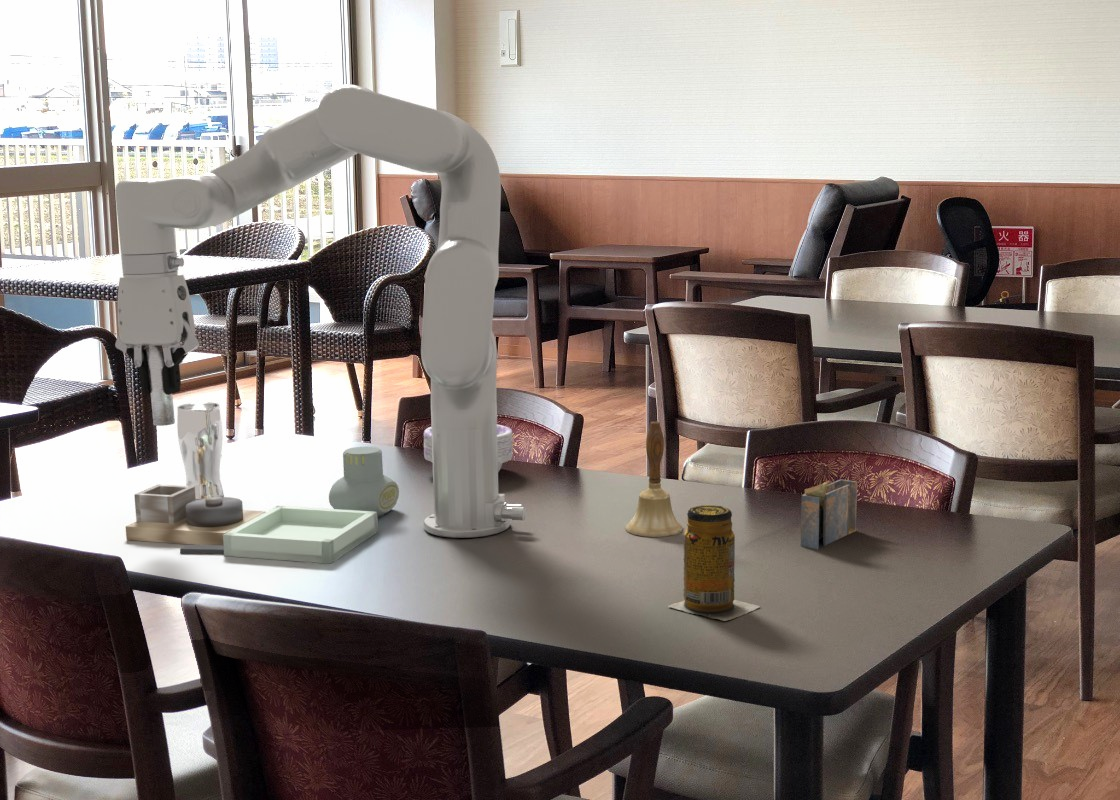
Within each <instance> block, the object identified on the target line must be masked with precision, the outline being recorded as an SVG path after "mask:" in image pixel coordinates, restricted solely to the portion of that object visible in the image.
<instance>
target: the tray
mask: <svg viewBox="0 0 1120 800" xmlns="http://www.w3.org/2000/svg"><path fill="white" fill-rule="evenodd" d="M378 524H379V523H378V517H377V512H374V511H358V510H341V509H334V508H322V507H321V508H320V507H309V506H307V507H306V506H305V507H304V506H289V505H288V506H287V505H276V506H275V507H272V508H271V509H268V510H267V511H266V512H265V513H263V514H261V515H259V516H257V517H255V518H253V519H252V520H250V521H248V522H246V523H244V524H242V525H240V526H239V527H237V528H235V529H233V530H231V531H229V532H227V533H225V534H224V535H223V544H224V554H223V556H224V557H235V558H250V559H263V560H278V561H287V562H288V561H292V562H303V563H304V562H306V563H318V564H319V563H320V564H332V563H333V562H335V561H337V560H338V559H340V558H341V557H342V556H344V555H345V554H347V553H348V552H350V551H351V550H353V549H354V548H356V547H357V546H359V545H360V544H362V543H363V542H365V541H366V540H367V539H369V538H371V537H372V536H374V535H375V534H377V533H378V531H379V528H378V527H379V526H378Z"/></svg>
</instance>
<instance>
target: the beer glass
mask: <svg viewBox="0 0 1120 800" xmlns="http://www.w3.org/2000/svg"><path fill="white" fill-rule="evenodd" d="M176 409H177V415H176V416H177V423H176V426H177V439H178V446H179V452H180V454H181V458H182V463H183V466H184V471H185V476H186V485H185V486H193V487H195V498H196V500H200V499H205V498H209V497H224V494H225V493H224V489H223V486H222V482H221V476H220V475H221V473H220V470H221V459H222V452H223V440H224V439H223V421H222V414H221V408H220V404H219V403H217V402H209V401H208V402H207V401H206V402H190V403H185V404H184V403H183V404H181V405H178V406H177V408H176Z"/></svg>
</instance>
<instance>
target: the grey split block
mask: <svg viewBox="0 0 1120 800" xmlns="http://www.w3.org/2000/svg"><path fill="white" fill-rule="evenodd" d="M857 497H858V481H855V480H854V481H853V480H849V479H848V480H847V479H843V478H842V479H841V478H840V479H838V480H836V481H833V482H830V480H829V479H828V480H827V481H824V482H823V483H820V484H817V485H815V486H812V487H809V488H805V489H804V494H802V495H801V502H800V505H801V506H800V512H801V513H800V514H801V515H800V547H804V548H809V549H814V550H819V548H820V547H819V540H820V539H821V538H822V545H823V546H827V545H828V544H829V545H830V544H831V543H833V542H835V541H838V540H839V539H842V538H844V537H846V536H849V535H851V534H852V533H854V532H857V508H858V507H857V504H858V503H857V501H858V500H857V499H858V498H857Z"/></svg>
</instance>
